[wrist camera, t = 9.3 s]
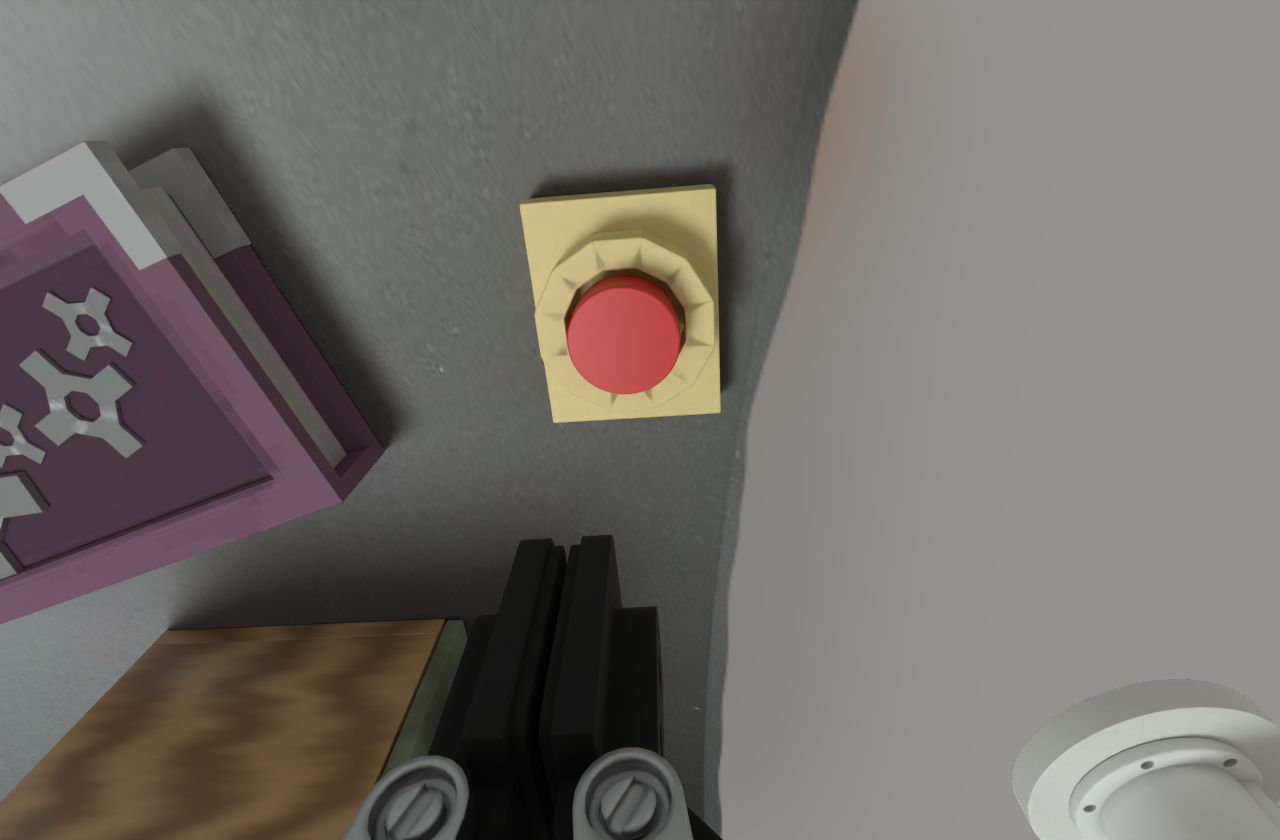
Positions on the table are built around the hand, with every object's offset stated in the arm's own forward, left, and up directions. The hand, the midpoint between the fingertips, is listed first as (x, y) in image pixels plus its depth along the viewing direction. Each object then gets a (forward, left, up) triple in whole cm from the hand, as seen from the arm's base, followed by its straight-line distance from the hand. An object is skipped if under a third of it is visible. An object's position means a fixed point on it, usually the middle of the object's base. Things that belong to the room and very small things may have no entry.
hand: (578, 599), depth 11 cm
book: (+28, +3, -20) cm, 34 cm away
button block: (0, 0, -19) cm, 19 cm away
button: (0, 0, -16) cm, 16 cm away
